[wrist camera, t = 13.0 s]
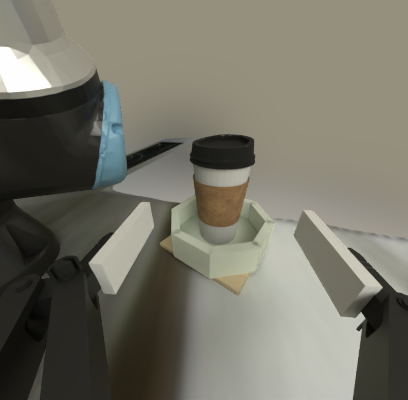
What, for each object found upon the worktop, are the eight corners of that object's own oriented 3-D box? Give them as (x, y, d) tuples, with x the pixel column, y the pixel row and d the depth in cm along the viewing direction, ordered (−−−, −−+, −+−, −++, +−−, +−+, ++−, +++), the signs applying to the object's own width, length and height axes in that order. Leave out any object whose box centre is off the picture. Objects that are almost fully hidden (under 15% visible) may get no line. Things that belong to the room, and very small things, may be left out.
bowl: (154, 246, 26) (149, 221, 24) (207, 206, 37) (207, 187, 35) (241, 302, 19) (246, 275, 16) (275, 232, 30) (281, 209, 27)
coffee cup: (252, 231, 27) (271, 138, 20) (221, 261, 22) (231, 148, 15) (214, 212, 32) (218, 132, 25) (182, 232, 27) (174, 138, 20)
